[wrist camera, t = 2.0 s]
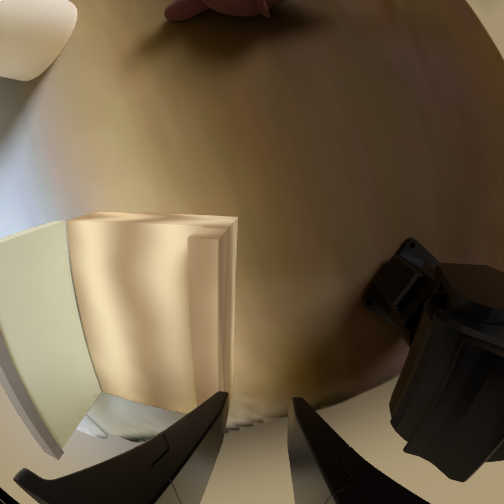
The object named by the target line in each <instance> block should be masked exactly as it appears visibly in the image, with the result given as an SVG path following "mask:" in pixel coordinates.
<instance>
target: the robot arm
mask: <svg viewBox="0 0 504 504" xmlns="http://www.w3.org/2000/svg"><path fill="white" fill-rule="evenodd" d="M411 242H413V245H412V247H410V243H411ZM370 299H371V302H370V303H367V301H368V300H370ZM362 302H363V304H364V306H365V307H366V308H367V309H369V310H370V311H372V312H373V313H375V314H376V315H378V316H379V317H381V318H382V319H383V320H385V321H386V322H388V323H389V324H391V325H392V326H394V327H395V328H396V329H397V330H398V331H399V333H400V334H401V336H402V337H403V339H404V340H405V342H406V343H407V345H408V346H409V348H410V350H409V353H408V356H407V358H406V361H405V364H404V366H403V369H402V371H401V374H400V376H399V379H398V381H397V384H396V386H395V388H394V391H393V393H392V396H391V400H390V403H389V407H390V413H391V417H392V419H391V421H390V422H391V425H392V426H393V428H394V430H395V431H396V432H397V433H398V434H399V435H400V436H401V437H402V438H403V439H404V440H406V441H407V442H408V443H407V444H406V446H405V447H404V449H403V451H404V452H405V453H409V454H412V455H416V456H419V457H421V458H423V459H425V460H427V461H429V462H431V463H432V464H433V465H435V466H436V467H437V468H438V469H439V470H440V471H441V472H443V473H444V474H445V475H446V476H447V477H448V478H450V479H452V480H456V481H459V482H465V481H467V480H468V479H469V478H470V477H471V476H472V475H473V474H474V473H475V472H476V471H477V470H478V469H479V468H480V467H481V466H482V465H483V464H484V463H485V462H493V461H502V460H504V273H503V272H501V271H499V270H496V269H494V268H492V267H489V266H486V265H471V264H453V263H439V262H438V261H437V260H436V259H435V258H434V257H433V256H432V255H431V254H430V253H429V252H428V251H427V250H426V249H425V248H424V247H423V246H422V245H421V244H420V243H419V242H418V241H417V240H415V239H413V238H408V239H407V240H406V241H405V243H404V244H403V246H402V247H401V248H400V250H399V251H398V253H397V254H396V255H395V256H393V257H392V258H391V260H390V261H389V263H388V264H387V265H386V267H385V268H384V269H383V271H382V272H381V273H380V275H379V276H378V277H377V279H376V280H375V284H374V285H373V286H372V288H371V289H370V290H369V291H368V293H367V294H366V295H365V296H364V298H363V301H362ZM228 411H229V393H228V392H224V391H218V392H216V393H215V394H214V395H212V396H211V397H210V398H208V399H207V400H206V401H204V402H203V403H202V404H200V405H199V406H198V407H196V408H195V409H194V410H192V411H191V412H190V413H188V414H187V415H185V416H184V417H183V418H181V419H180V420H178V421H177V422H176V423H174V424H173V425H171V426H170V427H168V428H167V429H165V430H164V431H163V432H161V433H159V434H158V435H156V436H155V437H153V438H151V439H150V440H148V441H146V442H145V443H143V444H141V445H139V446H137V447H135V448H133V449H131V450H129V451H127V452H125V453H122V454H120V455H118V456H116V457H113V458H111V459H108V460H106V461H104V462H101V463H99V464H96V465H94V466H91V467H89V468H86V469H83V470H81V471H78V472H75V473H72V474H69V475H67V476H64V477H61V478H57V479H54V480H46V479H43V478H41V477H39V476H38V475H36V474H34V473H33V472H32V471H30V470H28V469H26V468H23V469H22V470H20V471H19V472H18V473H17V474H16V475H15V477H14V478H13V480H14V481H15V482H16V483H17V484H18V485H19V486H20V487H21V488H22V489H23V490H24V491H25V492H27V493H28V494H29V495H30V496H31V497H32V498H33V499H35V500H36V501H37V502H38V503H40V504H200V502H201V499H202V496H203V494H204V492H205V489H206V486H207V484H208V481H209V478H210V475H211V473H212V470H213V467H214V465H215V462H216V459H217V456H218V454H219V451H220V448H221V445H222V442H223V438H224V434H225V428H226V422H227V417H228ZM288 454H289V460H290V468H291V475H292V483H293V491H294V498H295V504H430V503H429V502H427V501H425V500H423V499H422V498H420V497H419V496H417V495H415V494H414V493H412V492H411V491H409V490H408V489H406V488H404V487H403V486H401V485H400V484H398V483H397V482H395V481H393V480H392V479H391V478H389V477H388V476H386V475H385V474H384V473H382V472H381V471H379V470H378V469H376V468H375V467H374V466H372V465H371V464H370V463H368V462H367V461H366V460H364V459H363V458H362V457H361V456H360V455H359V454H358V453H357V452H356V451H355V450H353V448H352V447H349V445H348V444H347V443H346V442H345V441H344V440H343V439H342V438H341V437H340V436H339V435H338V434H337V433H336V432H335V431H334V430H333V429H332V428H331V427H330V426H329V425H328V424H327V423H326V422H325V421H324V420H323V419H322V418H321V417H320V416H319V415H318V414H317V412H316V411H315V410H314V409H313V408H312V407H311V406H310V405H309V404H308V403H307V402H306V401H305V400H304V399H303V398H302V397H292V398H291V402H290V407H289V411H288ZM0 504H19V503H18V502H17V501H16V500H14V499H13V498H12V497H11V496H9V495H8V494H7V493H6V492H5V491H4V490H2V489H1V488H0Z"/></svg>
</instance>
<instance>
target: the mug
mask: <svg viewBox="0 0 504 504" xmlns="http://www.w3.org/2000/svg"><path fill="white" fill-rule="evenodd" d="M76 21H77V9H76V7H75V5H74V4H73V3H71V2H69V1H68V0H0V77H5V78H10V79H15V80H20V81H30V80H32V79H34V78H36V77H38V76H39V75H40V74H42V73H43V72H44V71H45V70H46V69H48V67H49V66H50V65H51V64H52V63H53V62H54V61H55V59H56V58H57V57H58V56H59V54H60V53H61V51H62V50H63V48H64V47H65V45H66V44H67V42H68V40H69V38H70V36H71V34H72V32H73V30H74V27H75V24H76Z"/></svg>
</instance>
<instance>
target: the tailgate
mask: <svg viewBox="0 0 504 504" xmlns="http://www.w3.org/2000/svg"><path fill="white" fill-rule="evenodd" d="M0 383H1V385H2V386H3V388H4V390H5V392H6V394H7V395H8V397H9V399H10V401H11V403H12V404H13V406H14V408H15V409H16V411H17V413H18V414H19V416H20V418H21V419H22V421H23V422H24V424H25V425H26V427H27V428H28V429H29V431H30V433H31V434H32V435H33V437H34V438H35V440H36V441H37V442H38V444H39V445H40V446H41V448H42V449H43V450H44V452H46V453H47V454H49V455H51V456H52V457H54V458H56V459H58V460H59V459H60V457H61V456H62V454H63V453H64V452H63V450H62V448H63V447H64V445H65V444H66V442H67V441H68V439H69V438H70V436H71V435H72V433H73V432H74V430H75V429H76V428H77V426H78V425H79V423H80V422H81V420H82V419H83V418H84V416H85V415H86V413H87V412H88V410H89V409H90V408H91V406H92V405H93V403H94V402H95V401H96V399H97V398H98V396H99V395H100V394H101V389H100V386H99V383H98V380H97V377H96V374H95V371H94V368H93V365H92V362H91V359H90V355H89V352H88V349H87V345H86V341H85V338H84V334H83V330H82V326H81V322H80V318H79V313H78V309H77V304H76V299H75V294H74V288H73V283H72V276H71V270H70V263H69V256H68V247H67V237H66V226H65V221H52V222H49V223H46V224H43V225H39V226H36V227H33V228H30V229H27V230H24V231H21V232H18V233H15V234H12V235H9V236H6V237H3V238H1V239H0Z"/></svg>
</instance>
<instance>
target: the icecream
mask: <svg viewBox="0 0 504 504" xmlns="http://www.w3.org/2000/svg"><path fill="white" fill-rule="evenodd" d="M283 1H286V0H176V1H174V2H173V3H171V4H170V5H168V6H167V8H166V9H165V12H164V14H165V17H166V19H168V20H171V21H179V20H184V19H188V18H191V17H193V16H195V15H197V14H199V13H201V12H203V11H205V10H206V9H208V8H211V9H213V10H215V11H217V12H219V13H222V14H227V15H232V16H256V15H258V14H262V15H263V16H265V17H266V18H267V19H268V18H269V17H270V13H269V9H270V8H271V7H272V5H274V4H277V3H280V2H283Z"/></svg>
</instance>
